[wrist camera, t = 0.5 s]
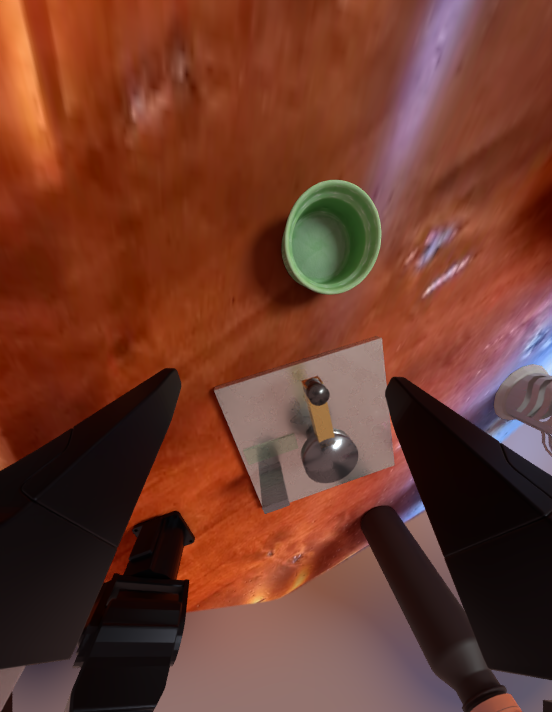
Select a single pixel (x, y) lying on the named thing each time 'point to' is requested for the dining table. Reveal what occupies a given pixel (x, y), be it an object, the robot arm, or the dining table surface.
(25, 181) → the dining table surface
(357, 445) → the lock base
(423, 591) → the bottle
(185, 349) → the dining table surface
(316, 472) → the lever handle
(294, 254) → the ramekin
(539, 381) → the french press
